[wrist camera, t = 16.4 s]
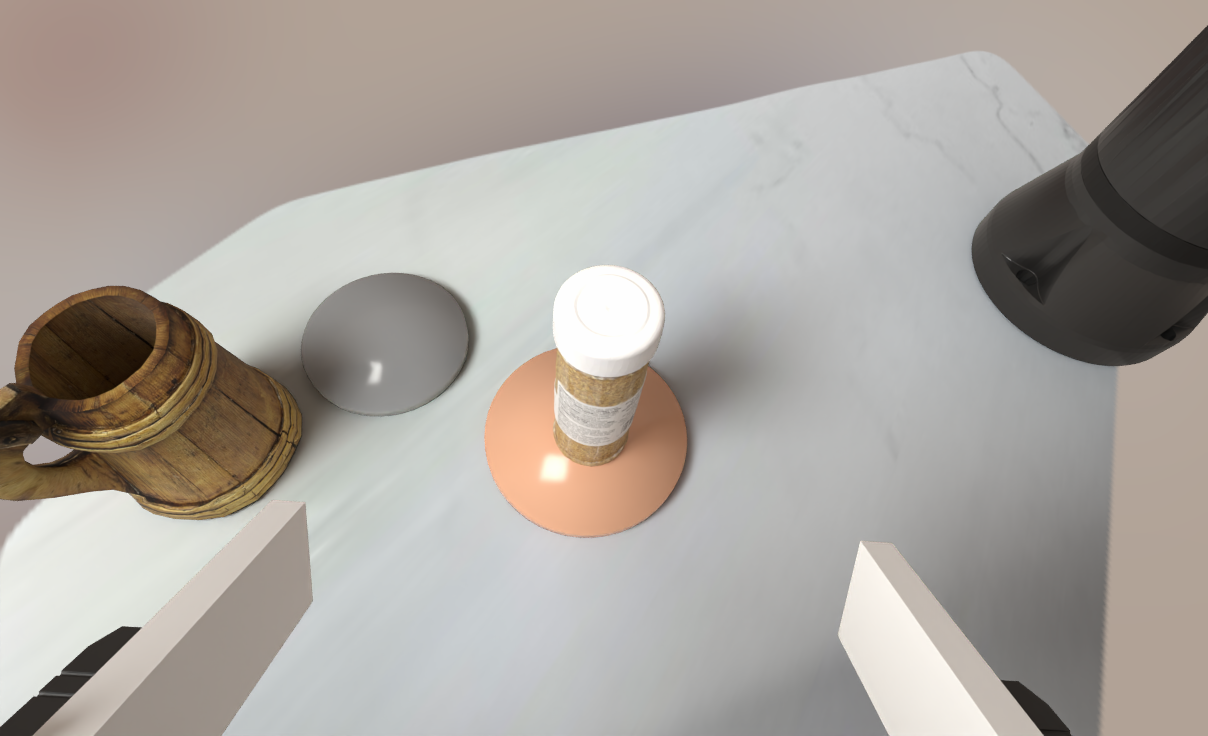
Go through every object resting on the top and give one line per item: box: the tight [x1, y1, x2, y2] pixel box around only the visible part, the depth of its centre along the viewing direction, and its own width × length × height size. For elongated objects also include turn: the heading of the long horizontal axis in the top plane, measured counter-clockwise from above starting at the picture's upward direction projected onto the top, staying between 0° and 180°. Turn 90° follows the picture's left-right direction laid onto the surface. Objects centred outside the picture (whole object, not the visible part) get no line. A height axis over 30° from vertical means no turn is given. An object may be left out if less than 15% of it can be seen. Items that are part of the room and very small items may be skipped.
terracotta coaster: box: [485, 348, 687, 538], centre depth 36 cm, size 12×12×1 cm
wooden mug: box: [0, 286, 302, 520], centre depth 26 cm, size 9×14×18 cm, turn 147°
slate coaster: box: [301, 273, 469, 416], centre depth 38 cm, size 10×10×1 cm
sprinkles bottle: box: [553, 265, 665, 467], centre depth 30 cm, size 5×5×13 cm
